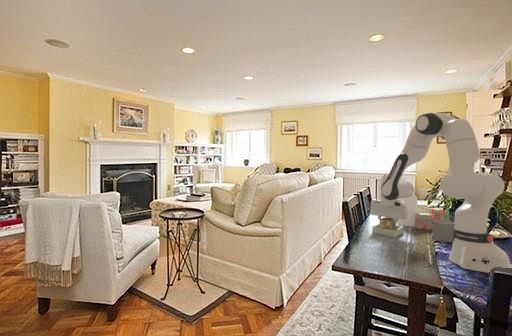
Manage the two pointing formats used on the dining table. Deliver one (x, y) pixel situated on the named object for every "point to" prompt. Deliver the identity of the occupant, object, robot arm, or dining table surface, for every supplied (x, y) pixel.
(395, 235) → the sage crate
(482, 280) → the dining table surface
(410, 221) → the milk
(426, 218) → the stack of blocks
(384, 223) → the pine crate
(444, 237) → the coffee mug
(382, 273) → the dining table surface
